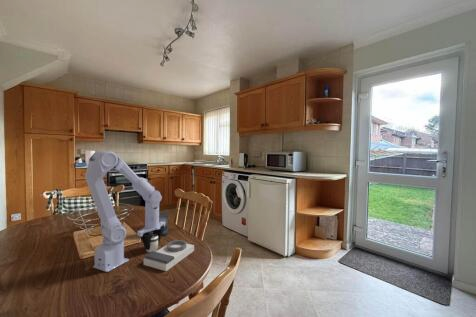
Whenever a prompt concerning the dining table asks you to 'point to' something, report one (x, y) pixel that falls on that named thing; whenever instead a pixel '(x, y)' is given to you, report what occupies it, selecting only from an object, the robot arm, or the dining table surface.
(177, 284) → the dining table surface
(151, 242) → the lens
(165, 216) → the small box
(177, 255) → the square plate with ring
